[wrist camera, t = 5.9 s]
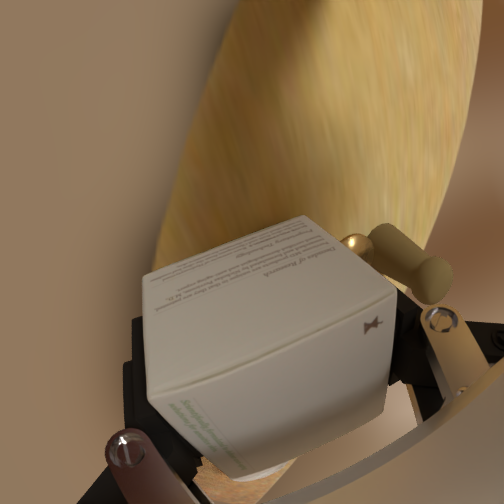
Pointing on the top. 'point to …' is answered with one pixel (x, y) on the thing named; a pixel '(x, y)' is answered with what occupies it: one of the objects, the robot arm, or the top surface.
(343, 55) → the top surface
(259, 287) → the small box
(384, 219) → the top surface
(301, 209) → the top surface
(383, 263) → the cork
